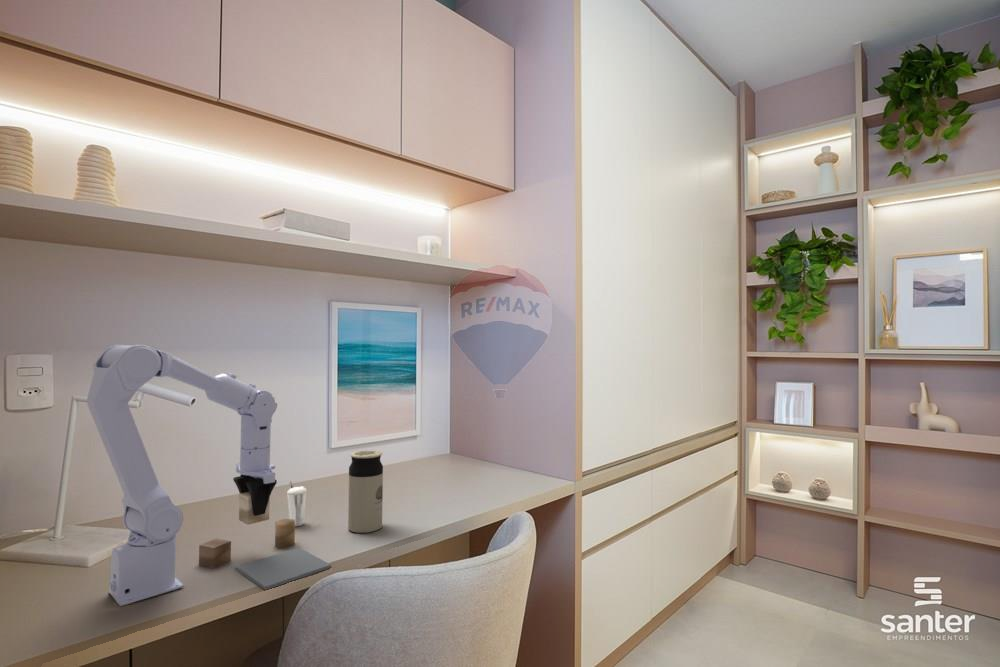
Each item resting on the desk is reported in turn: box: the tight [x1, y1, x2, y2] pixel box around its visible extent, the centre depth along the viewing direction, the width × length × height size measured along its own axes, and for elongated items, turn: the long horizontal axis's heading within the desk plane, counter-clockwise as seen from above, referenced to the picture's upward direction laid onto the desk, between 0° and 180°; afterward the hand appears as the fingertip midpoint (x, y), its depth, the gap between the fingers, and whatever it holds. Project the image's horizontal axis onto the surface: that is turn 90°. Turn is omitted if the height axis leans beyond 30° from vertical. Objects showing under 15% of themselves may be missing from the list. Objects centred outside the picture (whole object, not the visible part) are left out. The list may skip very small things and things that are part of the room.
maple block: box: [238, 492, 271, 525], centre depth 109 cm, size 4×4×6 cm
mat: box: [235, 547, 332, 591], centre depth 102 cm, size 13×13×1 cm
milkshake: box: [286, 481, 308, 528], centre depth 128 cm, size 4×5×10 cm
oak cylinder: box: [274, 518, 296, 549], centre depth 114 cm, size 4×4×5 cm
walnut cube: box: [198, 538, 232, 569], centre depth 105 cm, size 4×4×4 cm
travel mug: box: [347, 449, 384, 534], centre depth 125 cm, size 8×8×18 cm
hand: (254, 511), depth 109 cm, fingers closed on maple block, 4 cm apart
